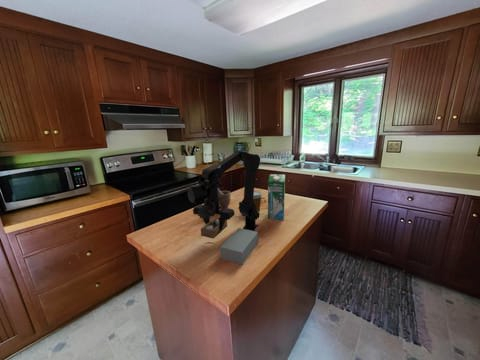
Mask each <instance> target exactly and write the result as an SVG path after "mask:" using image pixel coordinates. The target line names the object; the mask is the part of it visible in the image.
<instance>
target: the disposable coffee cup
mask: <svg viewBox="0 0 480 360" xmlns="http://www.w3.org/2000/svg"><path fill="white" fill-rule="evenodd" d="M262 197H263V194H262V192H261V191H257V190H254V195H253V200H254V203H255V206H256V211H257V212H258V213H260V209H261V203H262Z"/></svg>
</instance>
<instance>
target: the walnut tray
mask: <svg viewBox="0 0 480 360" xmlns="http://www.w3.org/2000/svg"><path fill="white" fill-rule="evenodd" d="M218 218H219V217H214V218H213V219H211V220H210V222H209V223H207V224H204V225H203V226H202V227H201V228H200V236H202V237H204V238H209V239H215V238H216V237H217V236H219V234H220V233H222V232H223V231H224V230H225V229H226V228H227V227H228V220H226V221H225V223H224V226H223V228H222V230H221V231H220V224H219V220H218Z"/></svg>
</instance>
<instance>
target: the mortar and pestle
mask: <svg viewBox="0 0 480 360" xmlns="http://www.w3.org/2000/svg"><path fill="white" fill-rule="evenodd" d="M218 193H219V197H220V199H221V200H219V206H221V208H220V210H222V211H223V210H224V209H226V208H228V209H231V208H230V207H229V206H230V204H231V198H232V197H231V191H230V190H220V188H218Z"/></svg>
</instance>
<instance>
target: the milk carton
mask: <svg viewBox="0 0 480 360" xmlns="http://www.w3.org/2000/svg"><path fill="white" fill-rule="evenodd" d="M285 195H286V174H280V173H279V174H276V173H274V174H272V173H271V174H269V176H268V181H267V219H268V220H281V221H284V220H285V198H286V196H285Z"/></svg>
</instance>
